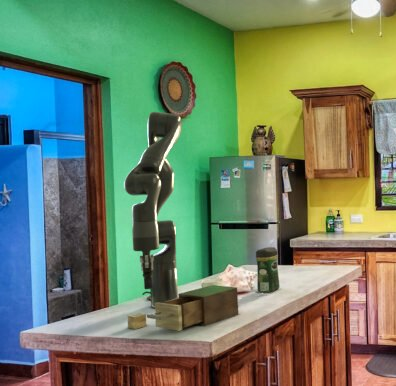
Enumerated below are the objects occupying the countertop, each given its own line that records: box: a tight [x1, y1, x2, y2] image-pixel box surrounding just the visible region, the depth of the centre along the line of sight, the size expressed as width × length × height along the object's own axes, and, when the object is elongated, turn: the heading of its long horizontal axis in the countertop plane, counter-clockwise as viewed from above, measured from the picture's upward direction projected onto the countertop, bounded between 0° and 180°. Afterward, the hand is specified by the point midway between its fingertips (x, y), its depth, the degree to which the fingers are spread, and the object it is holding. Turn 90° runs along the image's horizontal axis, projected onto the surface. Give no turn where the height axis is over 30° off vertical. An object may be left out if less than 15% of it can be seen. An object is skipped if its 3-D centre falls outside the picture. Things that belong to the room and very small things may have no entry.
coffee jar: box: [255, 246, 281, 294], centre depth 209 cm, size 10×8×19 cm
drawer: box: [146, 297, 203, 332], centre depth 158 cm, size 18×11×8 cm, turn 151°
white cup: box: [200, 277, 224, 288], centre depth 185 cm, size 8×8×10 cm
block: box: [126, 312, 147, 330], centre depth 161 cm, size 4×4×4 cm
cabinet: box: [178, 285, 239, 327], centre depth 168 cm, size 15×13×10 cm
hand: (148, 288), depth 156 cm, fingers closed
